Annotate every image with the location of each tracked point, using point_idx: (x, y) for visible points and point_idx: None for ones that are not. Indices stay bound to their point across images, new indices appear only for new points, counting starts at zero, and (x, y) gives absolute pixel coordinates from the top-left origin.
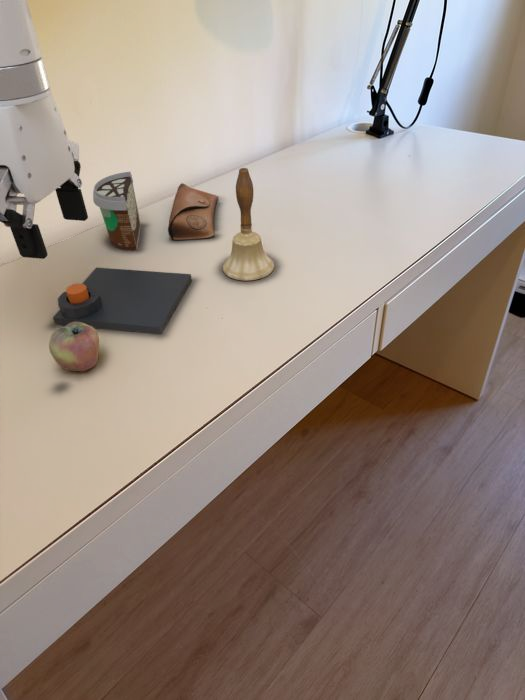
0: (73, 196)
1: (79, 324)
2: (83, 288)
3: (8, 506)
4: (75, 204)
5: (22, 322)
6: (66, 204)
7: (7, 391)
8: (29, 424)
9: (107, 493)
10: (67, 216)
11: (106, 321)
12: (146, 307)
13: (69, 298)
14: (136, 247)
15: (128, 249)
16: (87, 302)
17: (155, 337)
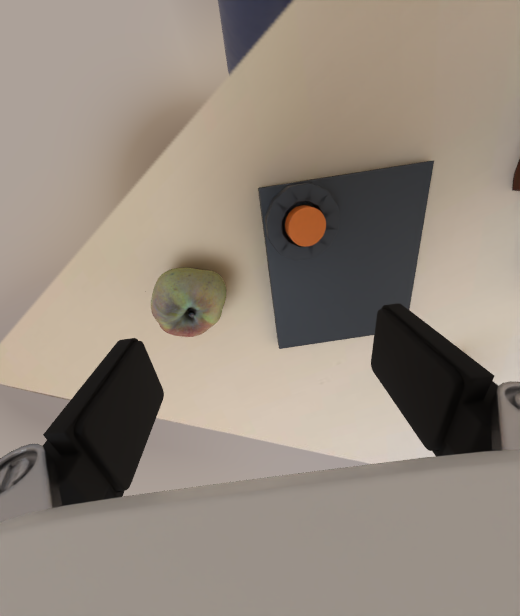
0: (422, 421)
1: (204, 312)
2: (310, 241)
3: (5, 341)
4: (401, 394)
5: (245, 113)
6: (406, 364)
7: (104, 226)
8: (83, 294)
9: None
10: (381, 327)
11: (273, 282)
12: (316, 315)
13: (288, 219)
14: (517, 190)
15: (516, 172)
16: (290, 252)
17: (271, 339)
